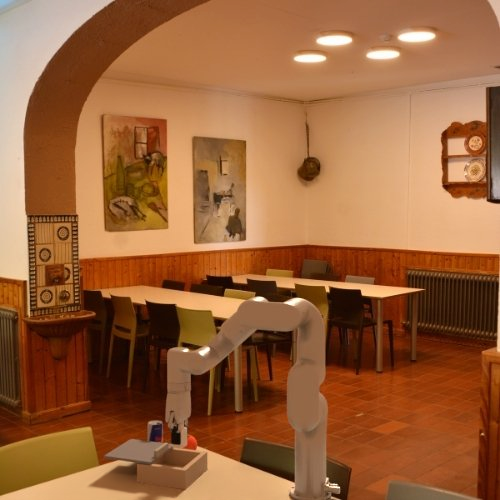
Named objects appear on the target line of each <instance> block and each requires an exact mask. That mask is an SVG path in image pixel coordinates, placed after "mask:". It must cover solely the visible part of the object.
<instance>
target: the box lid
mask: <svg viewBox="0 0 500 500" xmlns="http://www.w3.org/2000/svg"><path fill="white" fill-rule="evenodd" d="M172 448H174V447H172V444H171V443H169V442H163V443H159V442H152V441H148V440H144V439H143V440H142V439H135V438H130V439H129V440H127V441H124V442H123V443H122V444H120V445H119V446H117V447H115V448H114V449H112V450H111V451H109V452H108V453H106V454H104V456H103V458H104V459H108V460H115V461H123V462H128V463H129V462H130V463H136V464H137V463H142V464H149V465H151V464H152V463H154V462H155V461H156V460H158V459H159V458H160V457H162V456H163V455H164V454H166V453H167V452H168V451H170V450H171V449H172Z"/></svg>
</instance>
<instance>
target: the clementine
mask: <svg viewBox="0 0 500 500" xmlns="http://www.w3.org/2000/svg"><path fill="white" fill-rule="evenodd" d="M182 449H189V450H197V449H198V442H197V439H196V438H195V437H194V436H193V435H191V434H188V439H187V446H185V447H183V448H182Z"/></svg>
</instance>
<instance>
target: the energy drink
mask: <svg viewBox="0 0 500 500" xmlns="http://www.w3.org/2000/svg"><path fill="white" fill-rule="evenodd" d="M163 426H164V424H163V421H162V420H159V419H157V420H156V419H155V420H150V421H148V422H147V428H146V429H147V441H152V442H159V443H164V429H163Z"/></svg>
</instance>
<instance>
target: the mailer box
mask: <svg viewBox="0 0 500 500" xmlns="http://www.w3.org/2000/svg"><path fill="white" fill-rule="evenodd" d="M136 468H137V469H136V474H137V475H136V478H137V479H136V481H137V483H140V484H141V483H142V484H147V485H153V486H160V487H161V486H162V487H168V488H175V489H180V490H187V488H189V487H190V486H191V485H192V484H193V483H194V482H196V481H197V480H198V479H199V478H200V477H201V476H202V475H203V474H204V473H205V472H206V471H207V470H208V451H205V450H197V449H196V450H189V449H179V448H172V449H171V450H170V451H168V452H167V453H166V454H164V455H163V456H162V457H160V458H159V459H158V460H156V461H155V462H154V463H152V464H151V465H149V464H142V463H136Z"/></svg>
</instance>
